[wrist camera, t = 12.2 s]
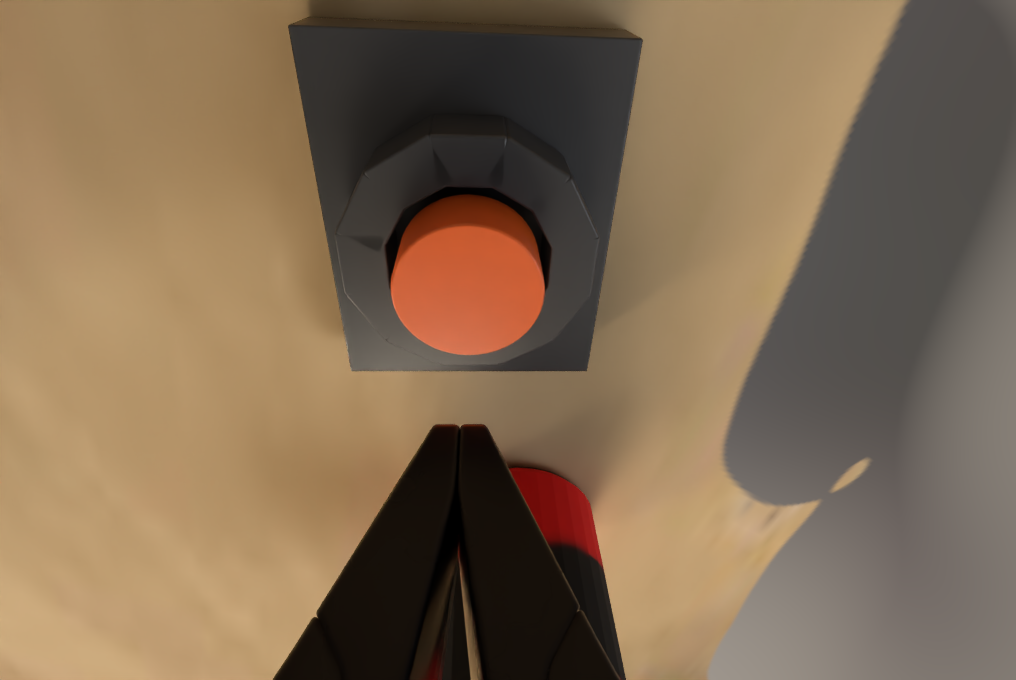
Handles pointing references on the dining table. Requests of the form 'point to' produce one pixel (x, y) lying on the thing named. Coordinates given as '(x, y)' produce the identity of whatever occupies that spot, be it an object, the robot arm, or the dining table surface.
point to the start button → (468, 276)
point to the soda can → (574, 550)
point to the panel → (465, 164)
